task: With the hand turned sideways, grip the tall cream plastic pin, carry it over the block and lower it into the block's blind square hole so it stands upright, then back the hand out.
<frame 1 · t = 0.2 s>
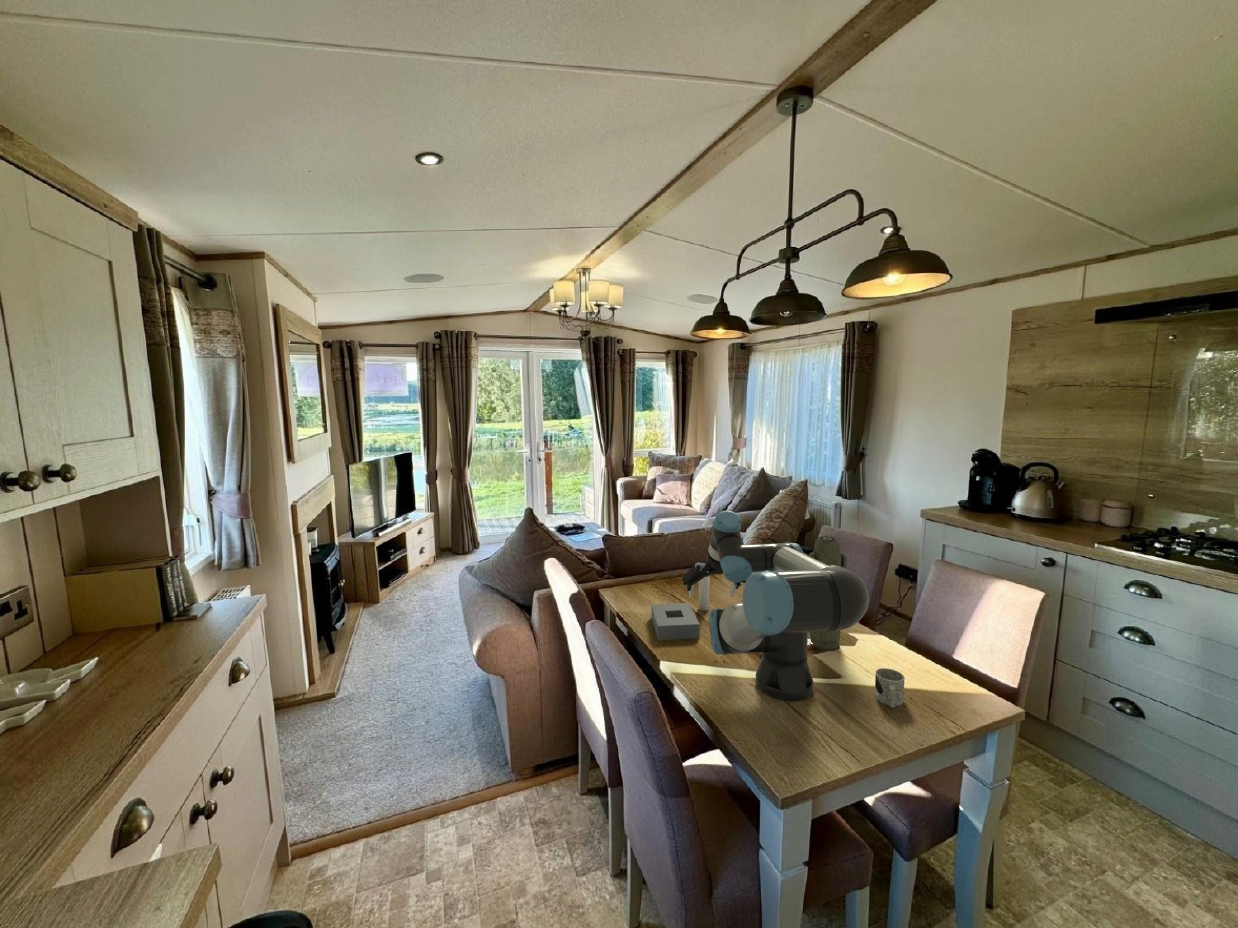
hand: (710, 594, 164), 16 cm above the table, fingers open, 13 cm apart
thermos: (824, 644, 161), on the table
pin: (704, 608, 191), on the table
mug: (889, 703, 129), on the table
hole block: (674, 627, 175), on the table
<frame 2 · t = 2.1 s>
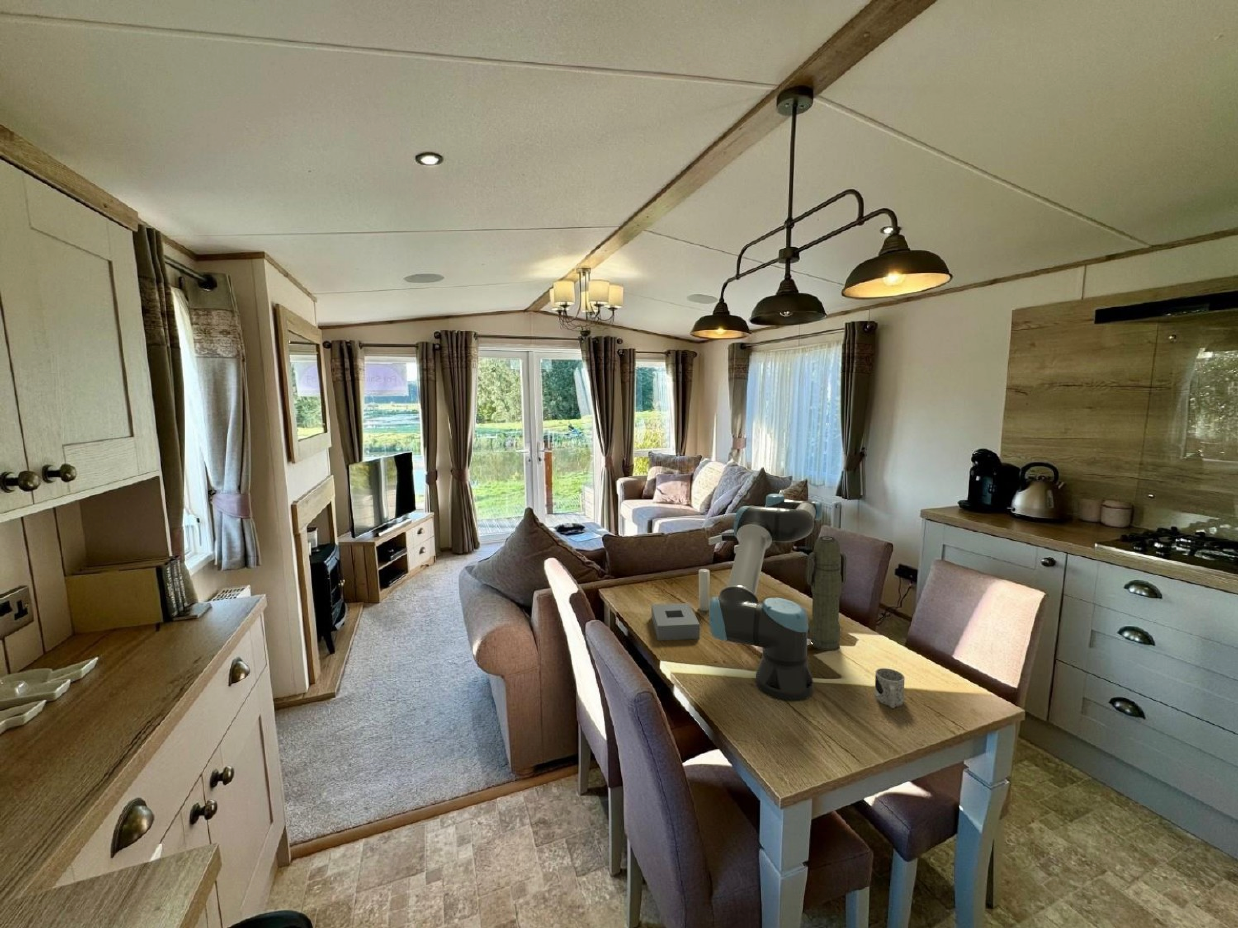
hand: (721, 545, 193), 23 cm above the table, fingers open, 13 cm apart
nothing on the table moved.
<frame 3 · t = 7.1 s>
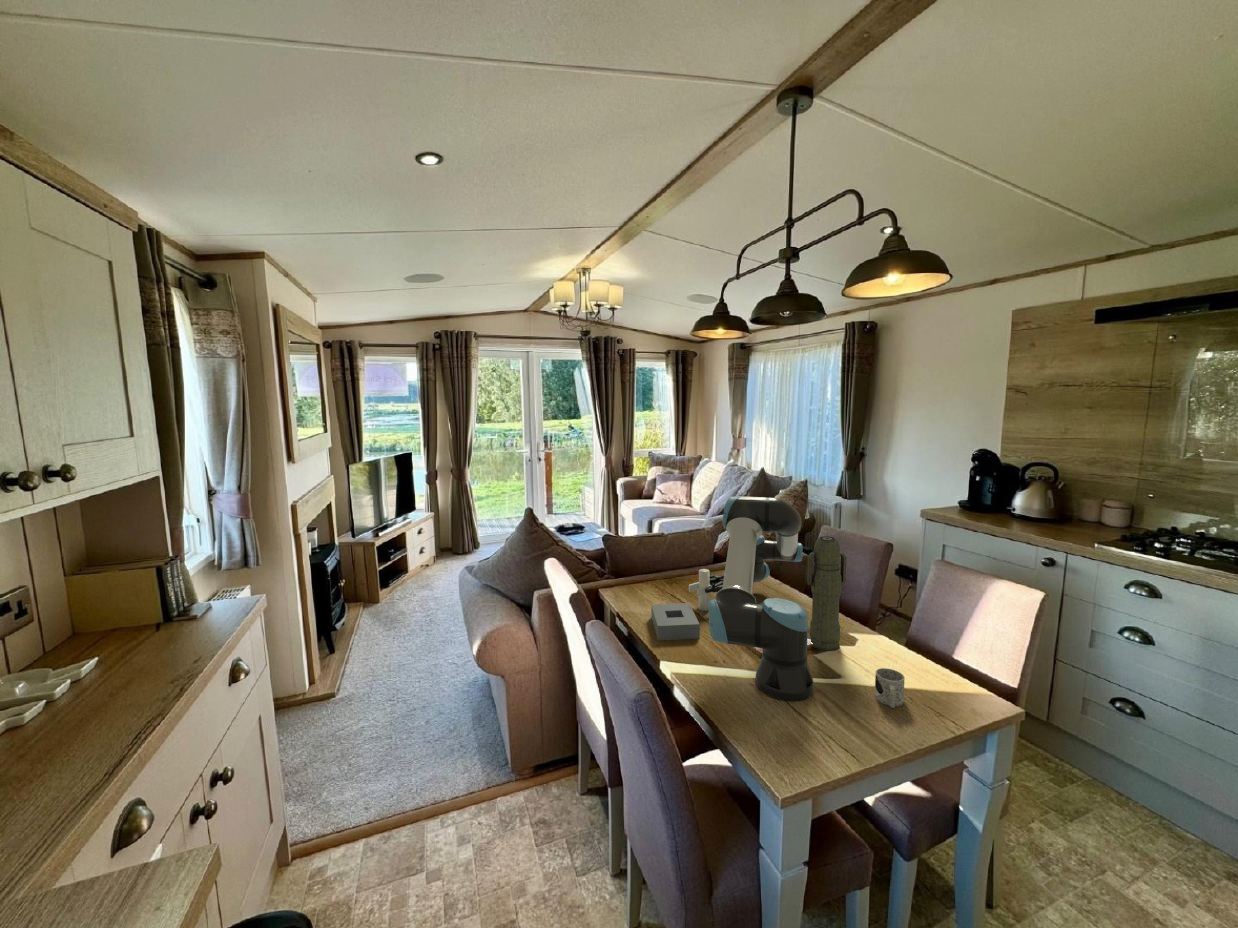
hand: (693, 590, 187), 9 cm above the table, fingers closed on pin, 4 cm apart
pin: (704, 608, 191), on the table, touching gripper
everything else where it was.
when the fingers open (10 cm above the table, at t = 11.8 s): pin stays where it is, resting on hole block.
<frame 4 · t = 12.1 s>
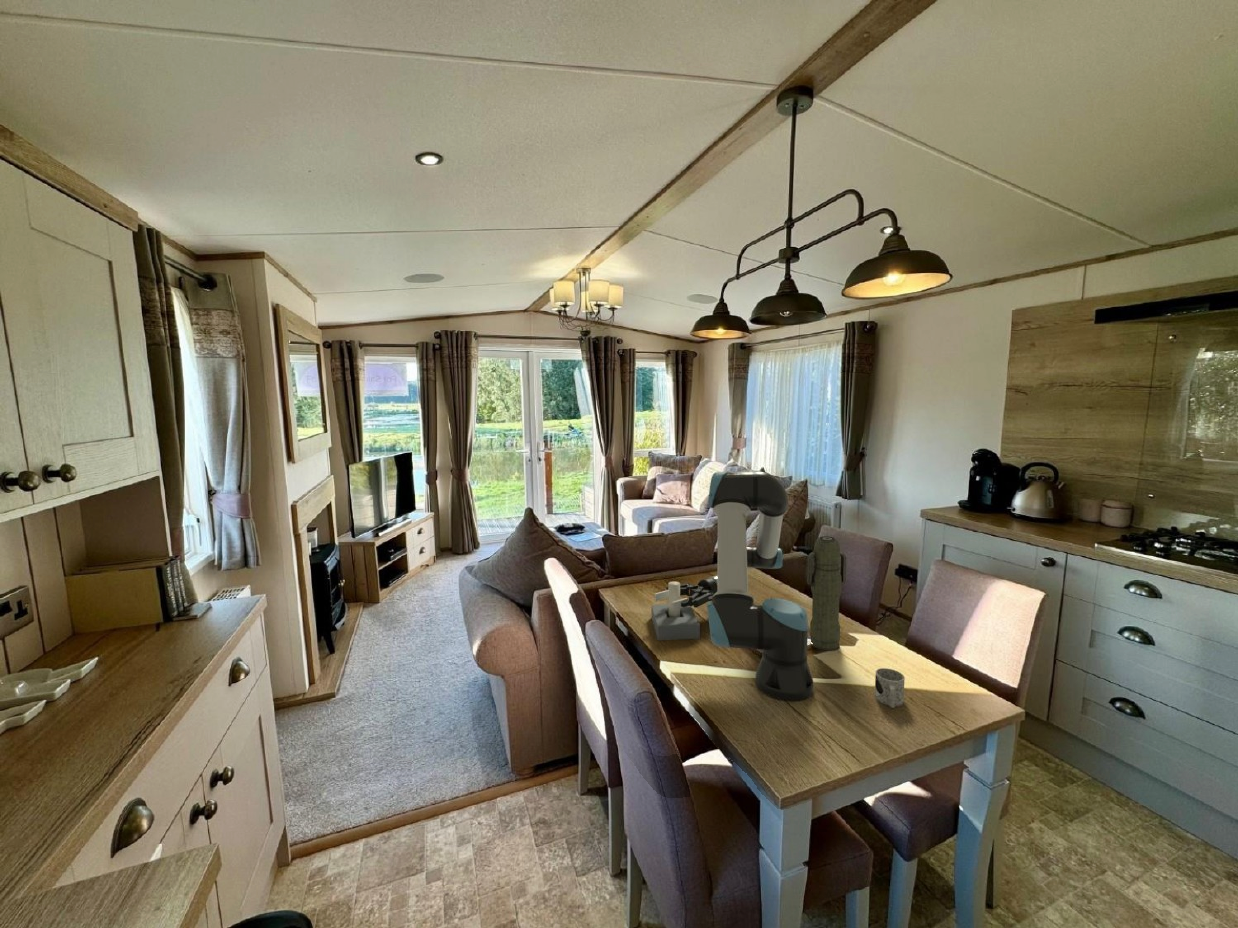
hand: (663, 601, 171), 10 cm above the table, fingers open, 9 cm apart
pin: (674, 624, 175), point 1 cm above the table, touching hole block
everything else where it was.
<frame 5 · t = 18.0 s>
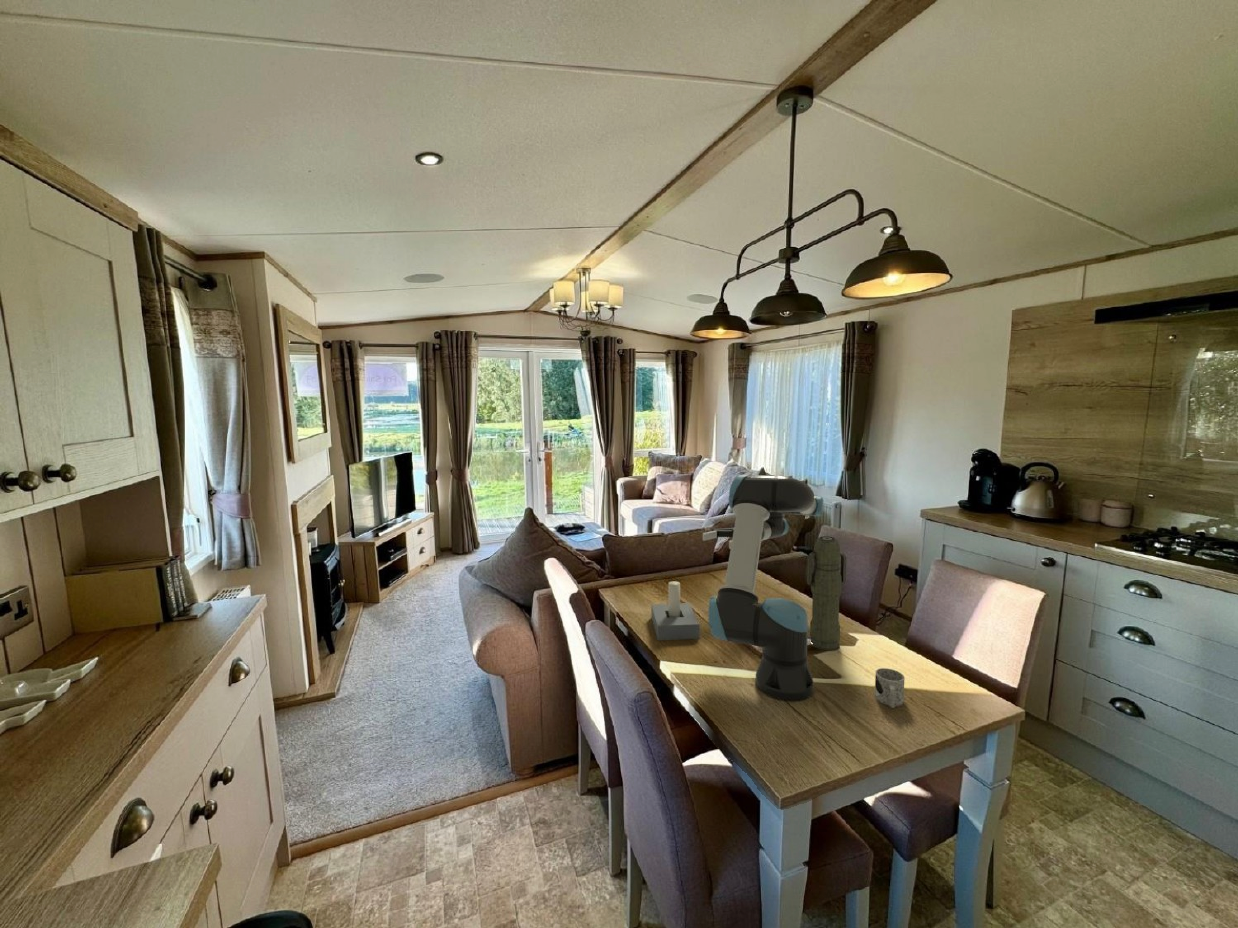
hand: (716, 540, 182), 28 cm above the table, fingers open, 13 cm apart
nothing on the table moved.
at the end: pin 0.0 cm off-centre on the hole block, point 1.0 cm above the hole block's base; pin tilted 0°; the gripper is holding nothing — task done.
